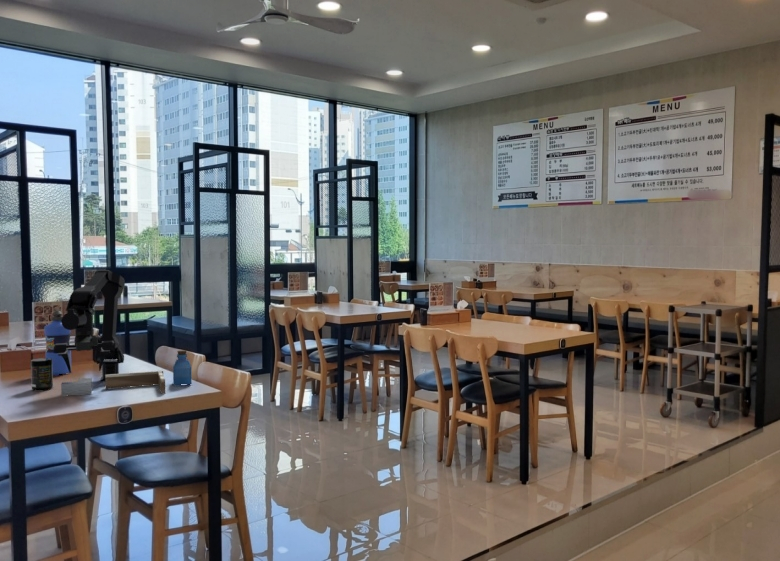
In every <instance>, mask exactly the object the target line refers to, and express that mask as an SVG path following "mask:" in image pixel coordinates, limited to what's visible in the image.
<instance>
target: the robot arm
mask: <svg viewBox="0 0 780 561" xmlns="http://www.w3.org/2000/svg"><path fill="white" fill-rule="evenodd" d="M125 285H126V280H125V278H124V277H123V276H122V275H121V274H119V273H116V272H113V271H111V270H109V269H98V270H96V271H95V272H94V275H93V276H92V277H91V278H90V279H89V280H88V281H87V283H86V284H85V285H83V286H80V287H77V288H76V289H75V290H73V291H72V293H71V294H70V296H69V299H68V301H67V302H68V303H67V306H66V307H65V308H66V309H65V311H66V312H67V313H65V314H64V315H62V316H63V317H62V320H61V323H62V326H63V327H64V328H65V329H67V330H71V331H72V330H73V331H74V344H70V345H67V343H56V344H55V345H54V353H58V356H62V357H63V359H64V361H65V362H66V365H67V367H68V370H69V373H70V374H71V373H72V363H71V364H70V358H69V352H67V351H68V350H71V351H76V352H82V351H87V352H88V351H92V350H94V357H95V361H96V364H97V365H98V371H99V372H102V374H101V375H102V376H101V378H100V380H101V381H102V382H103V381H105V382H106V380H105V375H108V374H120V369H119V364H123V363H124V361H125V355H124V353H123V351H122V349H121V343H120V342H119V340H118V338H117V321H118V320H117V318H118V306H119V305H118V302H119V298H120V296H122V294H123V292H124V287H125ZM99 292H100V293H101V294H102V296H103V298H104V299H103V300H104V301H103V316H102V332H101V337H100V338H99V339H98V335H97V334H95V335H94V313H95V310H94V308H95V305H96V304H97V302H98V297H97V295H98V294H99Z"/></svg>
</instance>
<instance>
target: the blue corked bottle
mask: <svg viewBox="0 0 780 561" xmlns="http://www.w3.org/2000/svg"><path fill="white" fill-rule="evenodd" d="M187 357H188V354H187V350H178V351H177V354H176V358H177V359H176V360H175V361H174V364H173V366H172V374H173V375H172V378H173V379H172V380H173V381H172V384H173V385H181V384H192V364H191V362H190V360H189V359H188V358H187Z"/></svg>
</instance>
